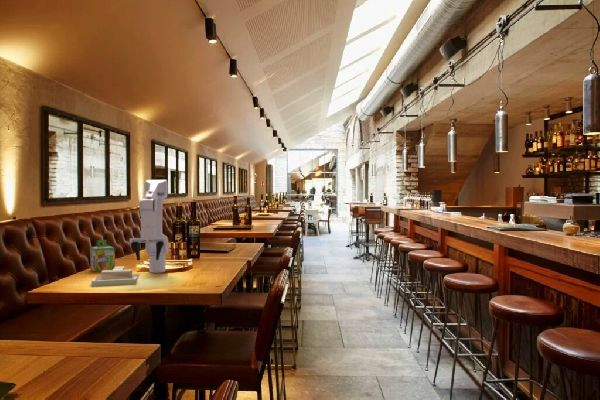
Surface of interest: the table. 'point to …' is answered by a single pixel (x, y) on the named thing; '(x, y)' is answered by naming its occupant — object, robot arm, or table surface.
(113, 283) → the off-white long channel
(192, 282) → the table surface
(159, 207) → the robot arm
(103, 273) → the t block
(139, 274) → the board
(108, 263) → the chalk box
